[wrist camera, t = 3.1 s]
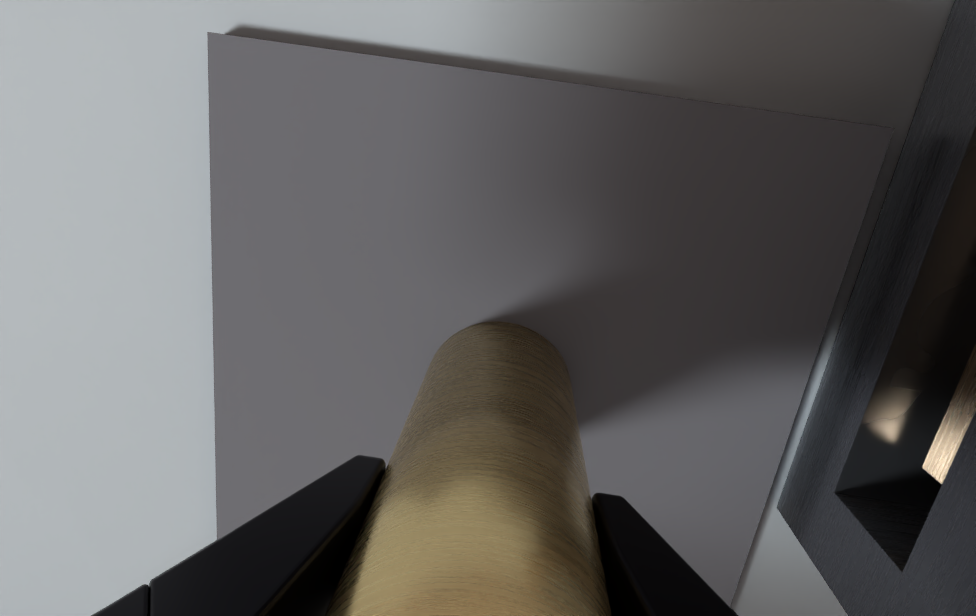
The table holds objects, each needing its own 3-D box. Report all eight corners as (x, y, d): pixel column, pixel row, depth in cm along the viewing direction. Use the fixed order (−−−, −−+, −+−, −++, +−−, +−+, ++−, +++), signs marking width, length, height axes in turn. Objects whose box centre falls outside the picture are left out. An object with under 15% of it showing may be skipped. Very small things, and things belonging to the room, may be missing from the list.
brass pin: (419, 441, 12) (5, 1626, 2) (434, 310, 11) (-128, 1386, 2) (557, 463, 12) (676, 1762, 2) (583, 333, 11) (942, 1602, 2)
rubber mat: (226, 563, 14) (217, 575, 14) (219, 36, 10) (207, 31, 10) (707, 640, 14) (713, 655, 13) (880, 128, 10) (894, 128, 10)
